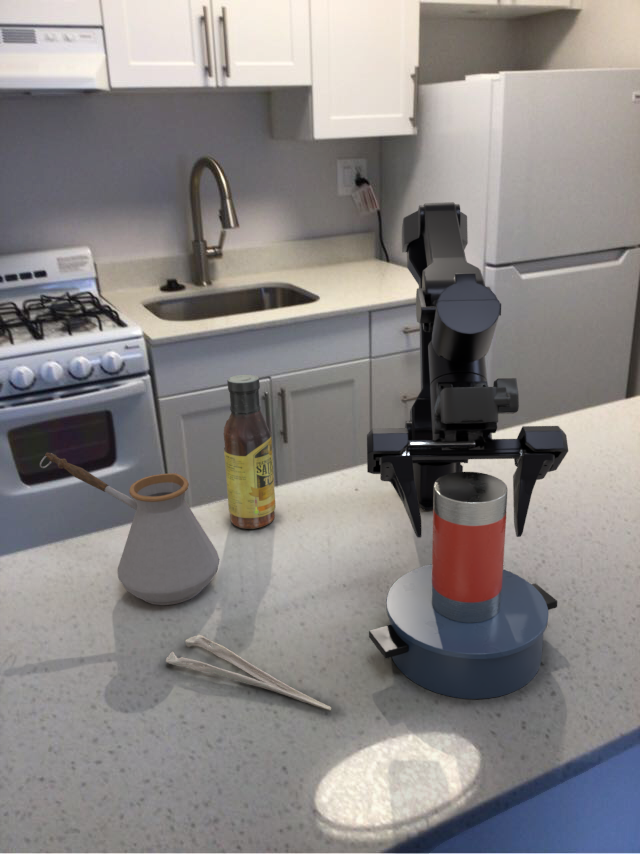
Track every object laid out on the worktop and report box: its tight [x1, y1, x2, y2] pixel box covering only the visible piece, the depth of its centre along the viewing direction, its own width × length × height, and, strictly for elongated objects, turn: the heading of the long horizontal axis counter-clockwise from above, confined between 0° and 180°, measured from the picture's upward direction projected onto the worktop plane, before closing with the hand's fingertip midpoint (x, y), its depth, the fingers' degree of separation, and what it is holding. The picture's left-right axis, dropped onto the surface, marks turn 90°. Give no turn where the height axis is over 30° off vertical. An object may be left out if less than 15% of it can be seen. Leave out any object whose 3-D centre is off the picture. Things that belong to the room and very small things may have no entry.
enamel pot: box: [368, 563, 558, 700], centre depth 74 cm, size 19×15×5 cm
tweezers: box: [165, 634, 332, 711], centre depth 71 cm, size 18×5×2 cm, turn 60°
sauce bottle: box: [223, 373, 276, 530], centre depth 98 cm, size 6×6×20 cm
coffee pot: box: [39, 452, 220, 606], centre depth 86 cm, size 21×12×15 cm, turn 68°
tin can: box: [431, 471, 508, 623], centre depth 71 cm, size 7×7×12 cm
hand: (469, 536), depth 70 cm, fingers open, 9 cm apart
